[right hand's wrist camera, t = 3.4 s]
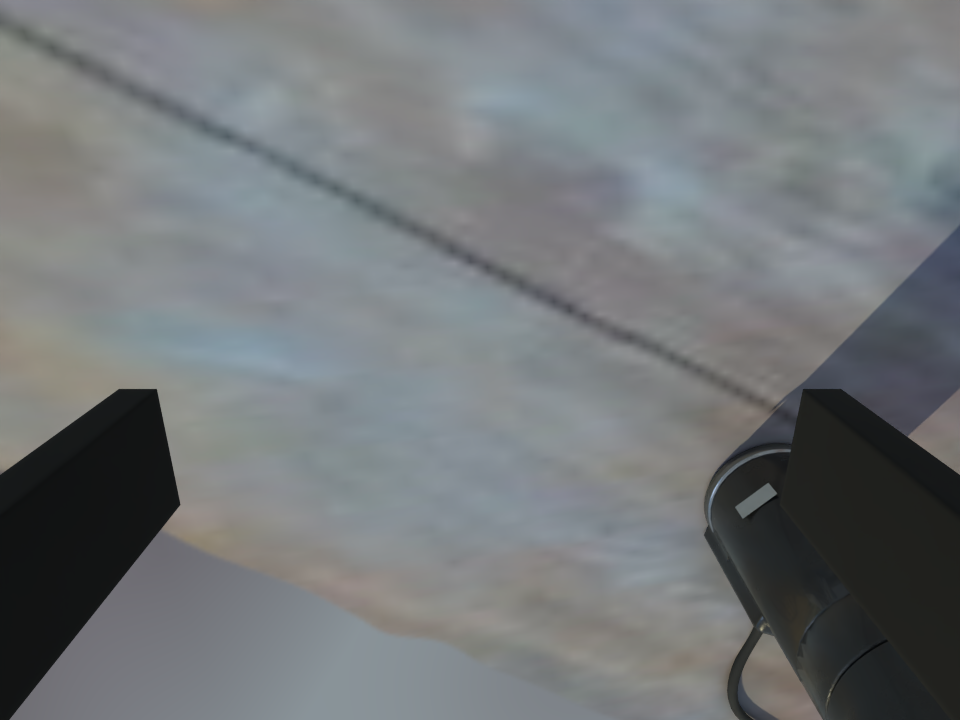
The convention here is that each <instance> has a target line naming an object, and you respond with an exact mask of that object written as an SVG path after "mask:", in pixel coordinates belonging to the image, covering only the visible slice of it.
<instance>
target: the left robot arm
mask: <svg viewBox="0 0 960 720" xmlns="http://www.w3.org/2000/svg"><path fill="white" fill-rule="evenodd" d="M791 447H792V445H788V444H768V445H763V446H758V447H755V448H752V449H749V450H747V451H745V452H743V453H741V454H739V455H737V456H736V457H734V458H733V459H731V460H730V461H729V462H727V463H726V464H725V465H724V466H723V467H722V468H721V469H720V470H719V471H718V472H717V474H716V475H715V476H714V478H713V479H712V481H711V483H710V485H709V487H708V489H707V492H706V496H705V502H704V511H705V517H706V520H707V523H708V528H707V530H706V532H705V534H704V536H705V538H706V540H707V542H708V544H709V546H710V547H711V549H712V551H713V553H714V555H715V557H716V558H717V560H718V562H719V564H720V566H721V567H722V569H723V571H724V573H725V575H726V577H727V578H728V580H729V582H730V584H731V586H732V587H733V589H734V591H735V593H736V595H737V597H738V598H739V600H740V602H741V604H742V606H743V607H744V609H745V611H746V613H747V615H748V617H749V618H750V620H751V622H752V624H753V626H754V628H753V630H752V632H751V634H750V636H749V637H748V639H747V641H746V642H745V644H744V646H743V647H742V649H741V650H740V652H739V654H738V655H737V657H736V659H735V662H734V664H733V666H732V669H731V672H730V676H729V680H728V689H727V692H728V700H729V703H730V706H731V709H732V711H733V712H734V714H735V715H736V716H737V717H738V719H739V720H753V719H752V718H750V717H749V716H748V715H747V714H746V713H745V712H744V711H743V710H742V708H741V706H740V705H739V702H738V696H737V690H738V683H739V679H740V676H741V672H742V670H743V668H744V665H745V663H746V661H747V659H748V657H749V655H750V654H751V652H752V650H753V648H754V647H755V645H756V643H757V642H758V640H759V639H760V637H761V635H762V634H763V633H765V634H768V635H772V636H774V637H775V638H776V640H777V642H778V643H779V645H780V647H781V649H782V650H783V652H784V654H785V656H786V657H787V659H788V661H789V662H790V664H791V666H792V668H793V669H794V671H795V673H796V674H797V676H798V678H799V680H800V681H801V683H802V684H803V686H804V688H805V690H806V691H807V693H808V695H809V697H810V698H811V700H812V702H813V703H814V705H815V707H816V709H817V710H818V712H819V714H820V715H821V717H822V719H823V720H951V719H950V718H949V717H948V716H947V714H946V713H945V712H944V711H943V709H942V708H941V707H940V706H939V704H938V703H937V702H936V701H935V699H934V698H933V697H932V696H931V694H930V693H929V692H928V690H927V689H926V688H925V687H924V685H923V684H922V683H921V682H920V680H919V679H918V678H917V677H916V675H915V674H914V673H913V672H912V670H911V669H910V668H909V667H908V665H907V664H906V663H905V662H904V660H903V659H902V658H901V657H900V655H899V654H898V653H897V652H896V650H895V649H894V648H893V647H892V645H891V644H890V643H889V641H888V640H887V639H886V638H885V636H884V635H883V634H882V633H881V631H880V630H879V629H878V628H877V626H876V625H875V624H874V623H873V621H872V620H871V619H870V618H869V616H868V615H867V614H866V613H865V611H864V610H863V609H862V608H861V606H860V605H859V604H858V603H857V601H856V600H855V599H854V598H853V596H852V595H851V594H850V592H849V591H848V590H847V589H846V587H845V586H844V585H843V584H842V582H841V581H840V580H839V579H838V577H837V576H836V575H835V574H834V572H833V571H832V570H831V569H830V567H829V566H828V565H827V564H826V562H825V561H824V560H823V559H822V557H821V556H820V555H819V554H818V552H817V551H816V550H815V549H814V547H813V546H812V545H811V543H810V542H809V541H808V540H807V538H806V537H805V536H804V535H803V533H802V532H801V531H800V530H799V528H798V527H797V526H796V525H795V523H794V522H793V521H792V520H791V518H790V517H789V516H788V515H787V513H786V512H785V511H784V510H783V508H782V507H781V506H780V501H781V496H782V491H783V486H784V481H785V476H786V471H787V466H788V461H789V456H790V452H791Z"/></svg>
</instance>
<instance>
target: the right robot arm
mask: <svg viewBox="0 0 960 720" xmlns="http://www.w3.org/2000/svg"><path fill="white" fill-rule="evenodd" d="M179 506H180V501H179V496H178V491H177V486H176V481H175V476H174V471H173V466H172V461H171V456H170V452H169V447H168V442H167V437H166V432H165V427H164V422H163V417H162V412H161V408H160V403H159V398H158V393H157V389H119V390H117V391H116V392H114V393H113V394H112V395H110V396H109V397H107V398H106V399H105V400H103V401H102V402H101V403H99V404H98V405H96V406H95V407H94V408H92V409H91V410H89V411H88V412H87V413H85V414H84V415H83V416H81V417H80V418H78V419H77V420H76V421H74V422H73V423H71V424H70V425H69V426H67V427H66V428H65V429H63V430H62V431H60V432H59V433H58V434H56V435H55V436H53V437H52V438H51V439H49V440H48V441H47V442H45V443H44V444H42V445H41V446H40V447H38V448H37V449H36V450H34V451H33V452H31V453H30V454H29V455H27V456H26V457H24V458H23V459H22V460H20V461H19V462H18V463H16V464H15V465H13V466H12V467H11V468H9V469H8V470H6V471H5V472H4V473H2V474H1V475H0V720H9V719H10V718H11V717H12V716H13V714H14V713H15V712H16V710H17V709H18V708H19V707H20V706H21V704H22V703H23V702H24V701H25V699H26V698H27V697H28V696H29V694H30V693H31V692H32V690H33V689H34V688H35V687H36V685H37V684H38V683H39V682H40V680H41V679H42V678H43V677H44V675H45V674H46V673H47V672H48V670H49V669H50V668H51V667H52V665H53V664H54V663H55V662H56V660H57V659H58V658H59V657H60V655H61V654H62V653H63V651H64V650H65V649H66V648H67V646H68V645H69V644H70V643H71V641H72V640H73V639H74V638H75V636H76V635H77V634H78V633H79V631H80V630H81V629H82V628H83V626H84V625H85V624H86V623H87V621H88V620H89V619H90V618H91V616H92V615H93V614H94V613H95V611H96V610H97V609H98V608H99V606H100V605H101V604H102V602H103V601H104V600H105V599H106V598H107V596H108V595H109V594H110V592H111V591H112V590H113V589H114V587H115V586H116V585H117V584H118V582H119V581H120V580H121V579H122V577H123V576H124V575H125V574H126V572H127V571H128V570H129V569H130V567H131V566H132V565H133V564H134V562H135V561H136V560H137V558H138V557H139V556H140V555H141V554H142V552H143V551H144V550H145V548H146V547H147V546H148V545H149V543H150V542H151V541H152V540H153V538H154V537H155V536H156V535H157V533H158V532H159V531H160V530H161V528H162V527H163V526H164V525H165V523H166V522H167V521H168V520H169V518H170V517H171V516H172V515H173V513H174V512H175V511H176V510H177V508H178V507H179ZM780 506H781V507H782V508H783V510H784V511H785V512H786V513H787V515H788V516H789V517H790V518H791V520H792V521H793V522H794V523H795V525H796V526H797V527H798V528H799V530H800V531H801V532H802V533H803V535H804V536H805V537H806V538H807V540H808V541H809V542H810V543H811V545H812V546H813V547H814V549H815V550H816V551H817V552H818V554H819V555H820V556H821V557H822V559H823V560H824V561H825V562H826V564H827V565H828V566H829V567H830V569H831V570H832V571H833V572H834V574H835V575H836V576H837V577H838V579H839V580H840V581H841V582H842V584H843V585H844V586H845V587H846V589H847V590H848V591H849V592H850V594H851V595H852V596H853V598H854V599H855V600H856V601H857V603H858V604H859V605H860V606H861V608H862V609H863V610H864V611H865V613H866V614H867V615H868V616H869V618H870V619H871V620H872V621H873V623H874V624H875V625H876V626H877V628H878V629H879V630H880V631H881V633H882V634H883V635H884V636H885V638H886V639H887V640H888V641H889V643H890V644H891V645H892V647H893V648H894V649H895V650H896V652H897V653H898V654H899V655H900V657H901V658H902V659H903V660H904V662H905V663H906V664H907V665H908V667H909V668H910V669H911V670H912V672H913V673H914V674H915V675H916V677H917V678H918V679H919V680H920V682H921V683H922V684H923V685H924V687H925V688H926V689H927V690H928V692H929V693H930V694H931V696H932V697H933V698H934V699H935V701H936V702H937V703H938V704H939V706H940V707H941V708H942V709H943V711H944V712H945V713H946V714H947V716H948V717H949V718H950V719H951V720H960V475H959V474H958V473H956V472H955V471H954V470H952V469H951V468H949V467H948V466H947V465H945V464H944V463H942V462H941V461H940V460H938V459H937V458H936V457H934V456H933V455H931V454H930V453H929V452H927V451H926V450H924V449H923V448H922V447H920V446H919V445H918V444H916V443H915V442H913V441H912V440H911V439H909V438H908V437H907V436H905V435H904V434H902V433H901V432H900V431H898V430H897V429H895V428H894V427H893V426H891V425H890V424H889V423H887V422H886V421H884V420H883V419H882V418H880V417H879V416H877V415H876V414H875V413H873V412H872V411H871V410H869V409H868V408H866V407H865V406H864V405H862V404H861V403H859V402H858V401H857V400H855V399H854V398H853V397H851V396H850V395H848V394H847V393H846V392H844V391H843V390H841V389H803V393H802V398H801V403H800V408H799V412H798V417H797V422H796V427H795V432H794V437H793V442H792V447H791V452H790V456H789V461H788V466H787V471H786V476H785V481H784V486H783V491H782V496H781V501H780Z"/></svg>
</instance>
